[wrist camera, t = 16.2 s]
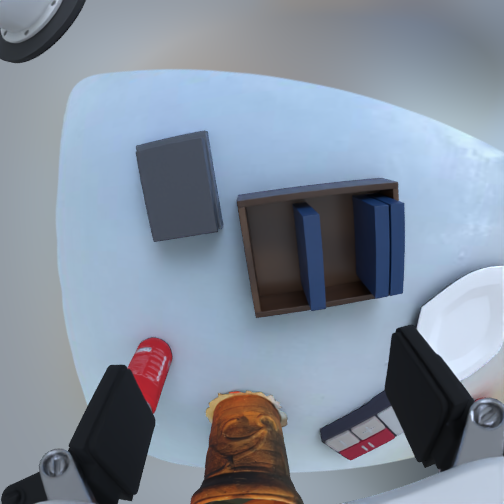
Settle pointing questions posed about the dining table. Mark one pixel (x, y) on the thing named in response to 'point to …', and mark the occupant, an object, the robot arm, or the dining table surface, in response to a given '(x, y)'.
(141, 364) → the beverage can
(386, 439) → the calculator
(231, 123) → the dining table surface
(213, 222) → the grey books
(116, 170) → the dining table surface
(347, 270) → the book box
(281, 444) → the vessel
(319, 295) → the blue book
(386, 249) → the blue books
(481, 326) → the plate
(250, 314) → the dining table surface
